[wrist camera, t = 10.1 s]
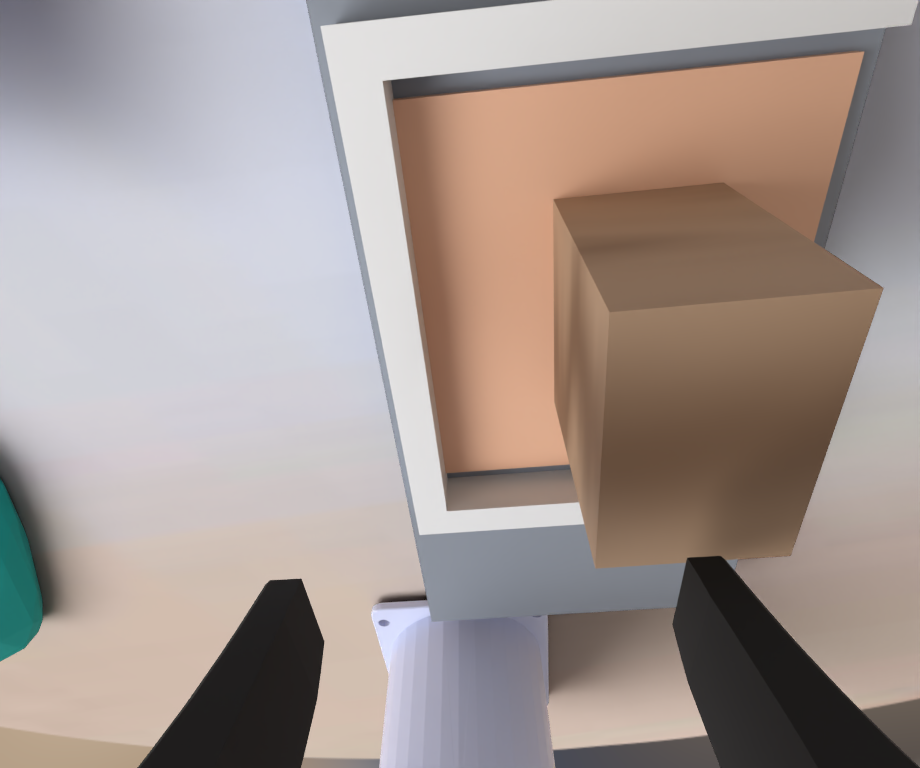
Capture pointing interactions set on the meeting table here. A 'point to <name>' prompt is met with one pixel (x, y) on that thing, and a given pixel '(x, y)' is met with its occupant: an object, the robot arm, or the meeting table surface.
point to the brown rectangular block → (697, 370)
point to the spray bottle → (16, 583)
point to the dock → (531, 228)
